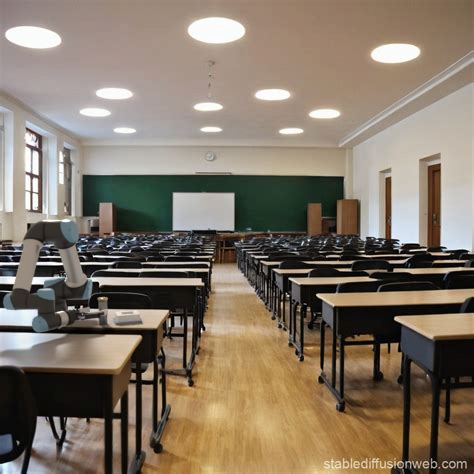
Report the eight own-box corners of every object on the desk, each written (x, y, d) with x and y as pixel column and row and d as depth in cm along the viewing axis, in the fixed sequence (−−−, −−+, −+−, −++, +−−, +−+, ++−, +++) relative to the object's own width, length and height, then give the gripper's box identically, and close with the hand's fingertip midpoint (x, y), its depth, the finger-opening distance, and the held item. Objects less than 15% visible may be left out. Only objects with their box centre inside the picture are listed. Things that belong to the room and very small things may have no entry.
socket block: (113, 319, 246) (113, 311, 246) (138, 317, 251) (138, 309, 251) (115, 324, 233) (115, 316, 233) (142, 322, 238) (142, 314, 238)
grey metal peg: (97, 323, 237) (97, 297, 237) (107, 322, 239) (107, 296, 239) (98, 325, 232) (97, 299, 232) (108, 324, 234) (108, 298, 234)
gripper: (48, 323, 220) (82, 315, 239) (81, 329, 208) (115, 320, 226) (47, 308, 220) (82, 301, 238) (81, 313, 207) (115, 305, 226)
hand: (98, 310), depth 232 cm, fingers open, 13 cm apart
